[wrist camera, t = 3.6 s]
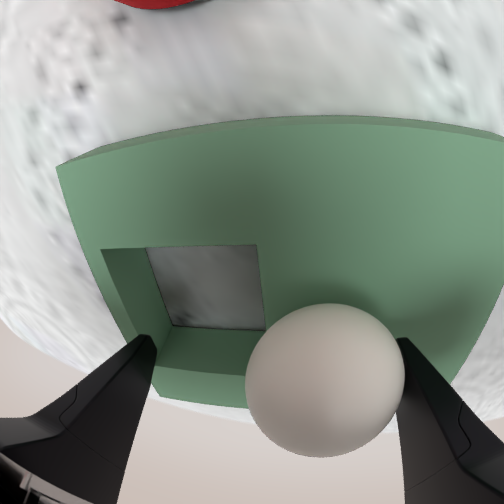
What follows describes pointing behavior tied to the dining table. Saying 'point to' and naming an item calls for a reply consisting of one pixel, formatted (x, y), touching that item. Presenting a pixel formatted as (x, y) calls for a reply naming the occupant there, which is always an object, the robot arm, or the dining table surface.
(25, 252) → the dining table surface
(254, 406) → the ball
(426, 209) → the green shape sorter board
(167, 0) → the beverage can
